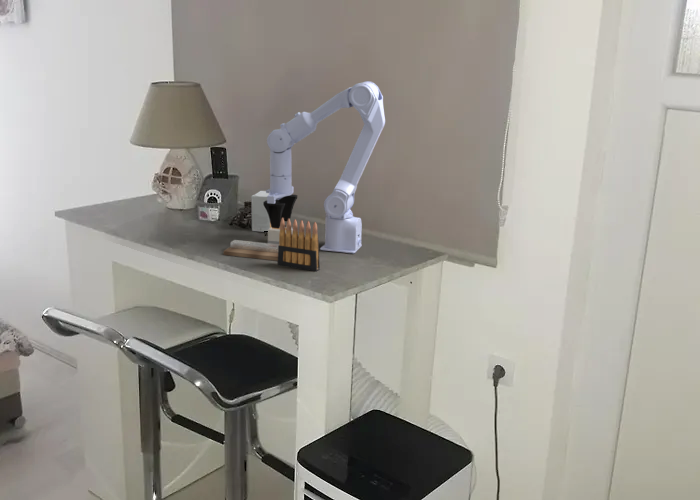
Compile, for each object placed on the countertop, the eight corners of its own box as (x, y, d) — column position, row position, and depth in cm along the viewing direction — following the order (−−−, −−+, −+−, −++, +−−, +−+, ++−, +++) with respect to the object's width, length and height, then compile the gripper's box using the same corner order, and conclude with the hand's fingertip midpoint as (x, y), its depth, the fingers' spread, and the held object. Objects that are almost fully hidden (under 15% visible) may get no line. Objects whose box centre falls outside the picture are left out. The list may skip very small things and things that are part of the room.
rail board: (305, 252, 181) (305, 248, 181) (293, 262, 173) (293, 258, 173) (238, 245, 186) (238, 241, 186) (223, 254, 178) (223, 251, 177)
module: (294, 242, 190) (294, 227, 189) (288, 246, 186) (288, 231, 185) (273, 240, 192) (273, 225, 191) (267, 244, 188) (267, 229, 187)
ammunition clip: (277, 265, 171) (277, 217, 167) (281, 263, 172) (280, 216, 169) (316, 271, 167) (316, 223, 163) (319, 269, 168) (320, 221, 165)
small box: (270, 232, 199) (269, 196, 196) (251, 231, 200) (250, 195, 197) (278, 226, 207) (278, 191, 204) (260, 224, 208) (259, 190, 205)
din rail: (299, 252, 178) (299, 246, 178) (295, 254, 176) (295, 249, 175) (234, 245, 183) (234, 239, 182) (230, 247, 180) (230, 242, 180)
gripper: (276, 169, 191) (276, 216, 195) (256, 178, 178) (256, 229, 182) (300, 171, 190) (300, 219, 194) (281, 180, 176) (281, 231, 180)
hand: (280, 224), depth 188 cm, fingers open, 7 cm apart
